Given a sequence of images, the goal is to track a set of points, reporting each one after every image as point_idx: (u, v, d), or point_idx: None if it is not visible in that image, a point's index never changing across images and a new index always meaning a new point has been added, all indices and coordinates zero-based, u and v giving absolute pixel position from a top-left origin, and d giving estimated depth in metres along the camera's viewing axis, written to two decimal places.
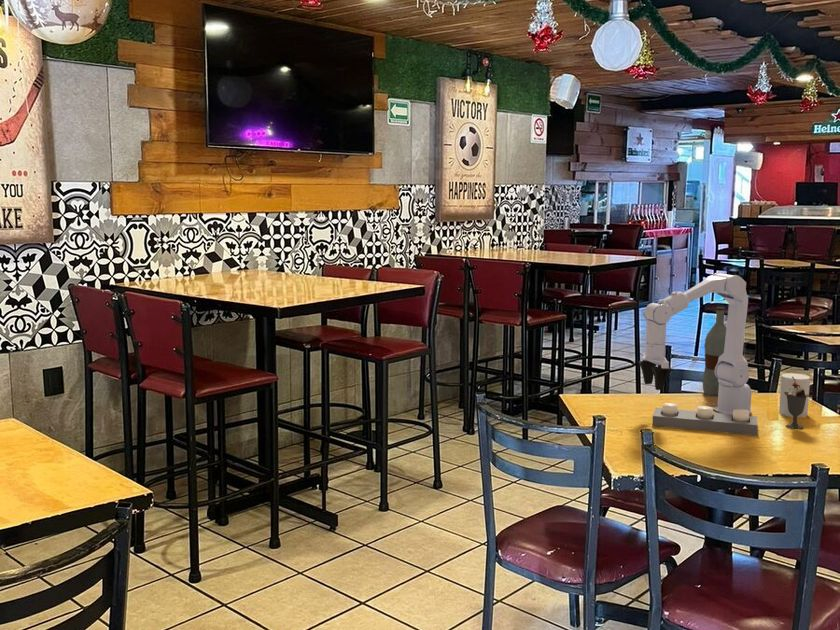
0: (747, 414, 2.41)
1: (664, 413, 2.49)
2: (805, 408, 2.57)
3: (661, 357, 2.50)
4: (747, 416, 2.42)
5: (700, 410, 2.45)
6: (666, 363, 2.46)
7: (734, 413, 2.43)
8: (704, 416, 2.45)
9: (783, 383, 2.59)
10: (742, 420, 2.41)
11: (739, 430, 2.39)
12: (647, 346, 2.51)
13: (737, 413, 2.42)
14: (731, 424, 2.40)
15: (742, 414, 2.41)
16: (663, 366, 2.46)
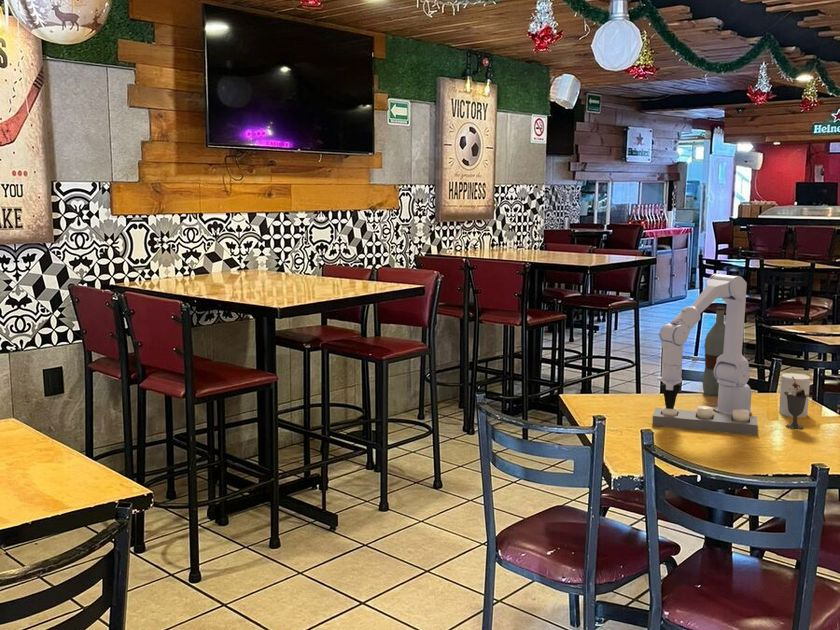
0: (747, 414, 2.41)
1: None
2: (805, 408, 2.57)
3: (673, 379, 2.46)
4: (747, 416, 2.42)
5: (700, 410, 2.45)
6: (670, 385, 2.42)
7: (734, 413, 2.43)
8: (704, 416, 2.45)
9: (783, 383, 2.59)
10: (742, 420, 2.41)
11: (739, 430, 2.39)
12: (662, 366, 2.48)
13: (737, 413, 2.42)
14: (731, 424, 2.40)
15: (742, 414, 2.41)
16: (667, 387, 2.42)
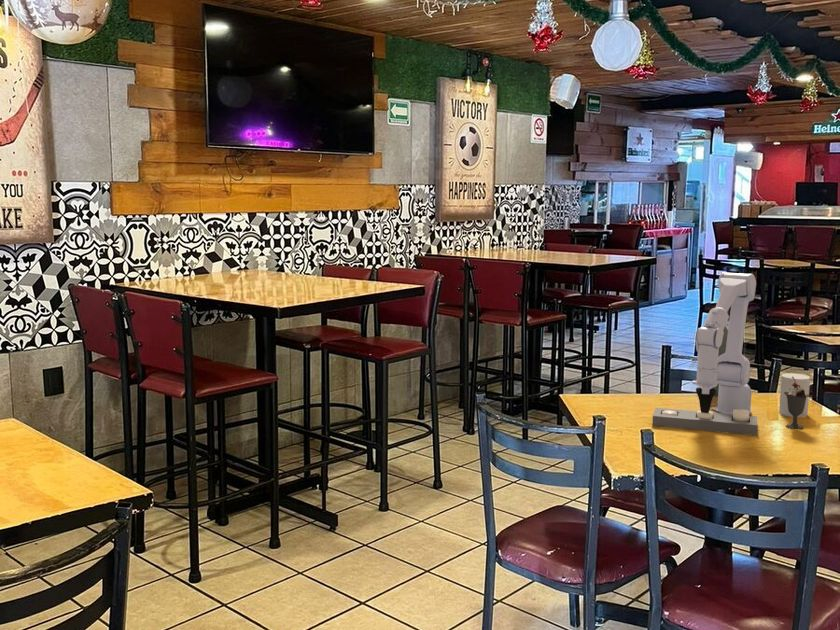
0: (747, 414, 2.41)
1: None
2: (805, 408, 2.57)
3: (709, 382, 2.43)
4: (747, 416, 2.42)
5: (700, 414, 2.46)
6: (706, 389, 2.39)
7: (734, 413, 2.43)
8: None
9: (783, 383, 2.59)
10: (742, 420, 2.41)
11: (739, 430, 2.39)
12: (697, 370, 2.45)
13: (737, 413, 2.42)
14: (731, 424, 2.40)
15: (742, 414, 2.41)
16: (703, 391, 2.39)
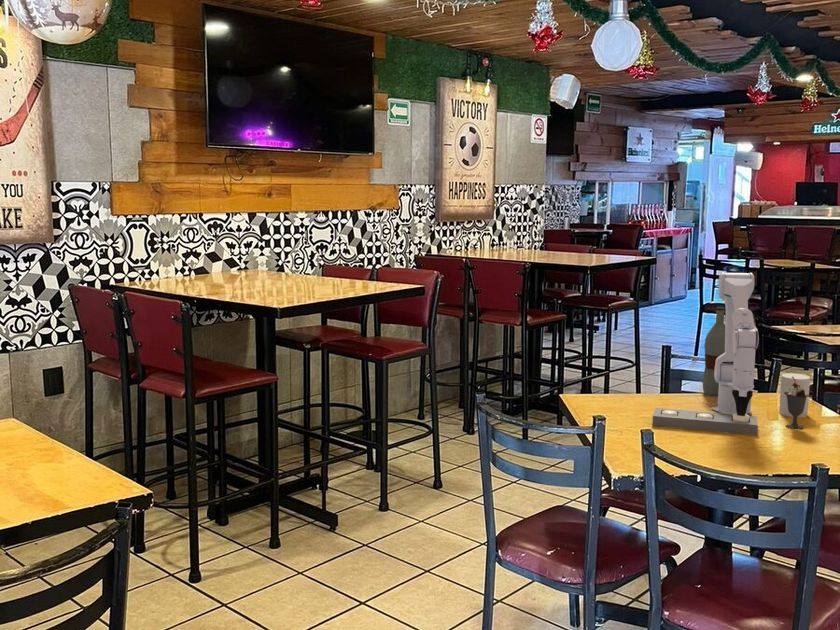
0: (747, 418, 2.42)
1: None
2: (805, 408, 2.57)
3: (745, 385, 2.39)
4: (747, 420, 2.42)
5: None
6: (743, 391, 2.35)
7: (734, 417, 2.43)
8: None
9: (783, 383, 2.59)
10: None
11: (739, 430, 2.39)
12: (733, 372, 2.42)
13: (737, 417, 2.42)
14: (731, 424, 2.40)
15: (742, 418, 2.41)
16: (740, 394, 2.36)
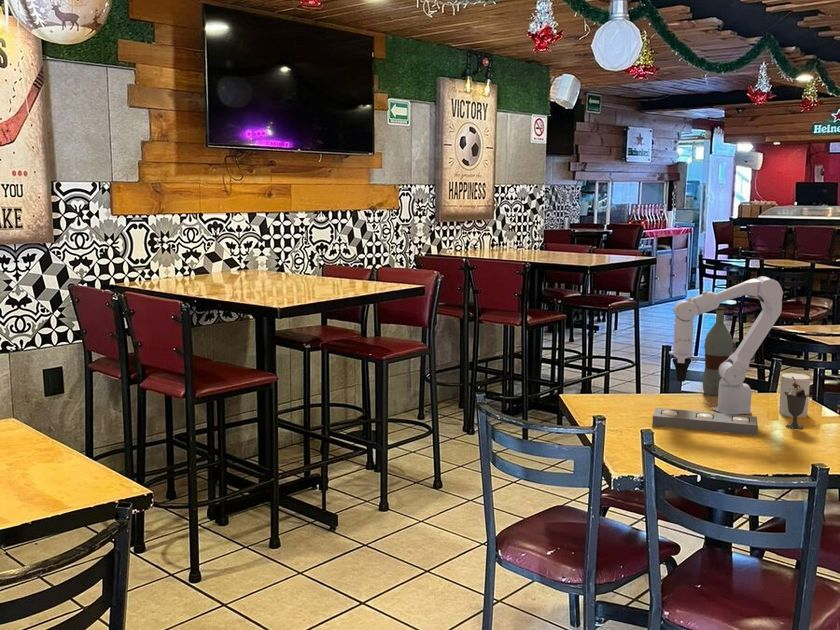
0: None
1: None
2: (805, 408, 2.57)
3: (684, 353, 2.60)
4: None
5: None
6: (681, 358, 2.56)
7: None
8: None
9: (783, 383, 2.59)
10: None
11: (739, 430, 2.39)
12: None
13: None
14: (731, 424, 2.40)
15: None
16: (678, 360, 2.56)
